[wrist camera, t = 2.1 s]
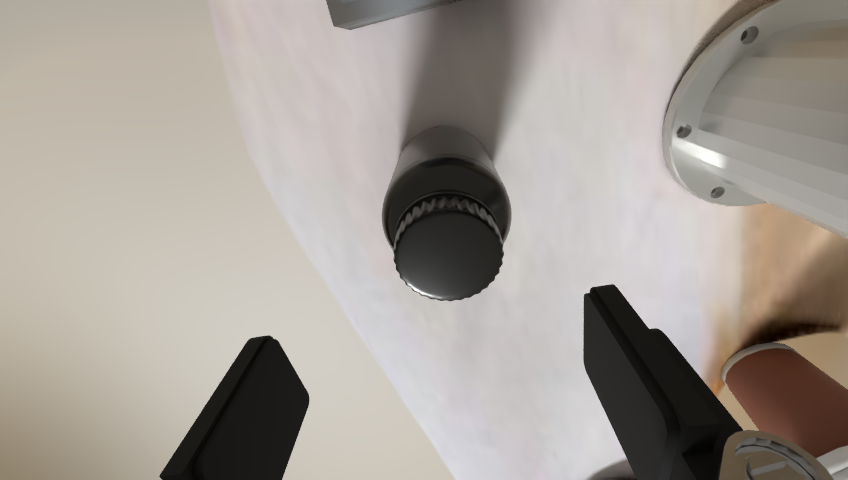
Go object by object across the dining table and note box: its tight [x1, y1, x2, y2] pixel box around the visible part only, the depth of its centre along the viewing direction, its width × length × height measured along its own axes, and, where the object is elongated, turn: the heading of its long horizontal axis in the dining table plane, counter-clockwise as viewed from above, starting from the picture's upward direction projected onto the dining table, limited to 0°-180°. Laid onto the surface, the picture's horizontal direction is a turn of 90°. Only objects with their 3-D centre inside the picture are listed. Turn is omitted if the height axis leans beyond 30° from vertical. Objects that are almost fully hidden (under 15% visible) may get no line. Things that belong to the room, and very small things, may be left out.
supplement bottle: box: [382, 127, 511, 301], centre depth 20 cm, size 7×7×12 cm
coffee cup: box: [720, 342, 848, 480], centre depth 28 cm, size 9×9×12 cm
